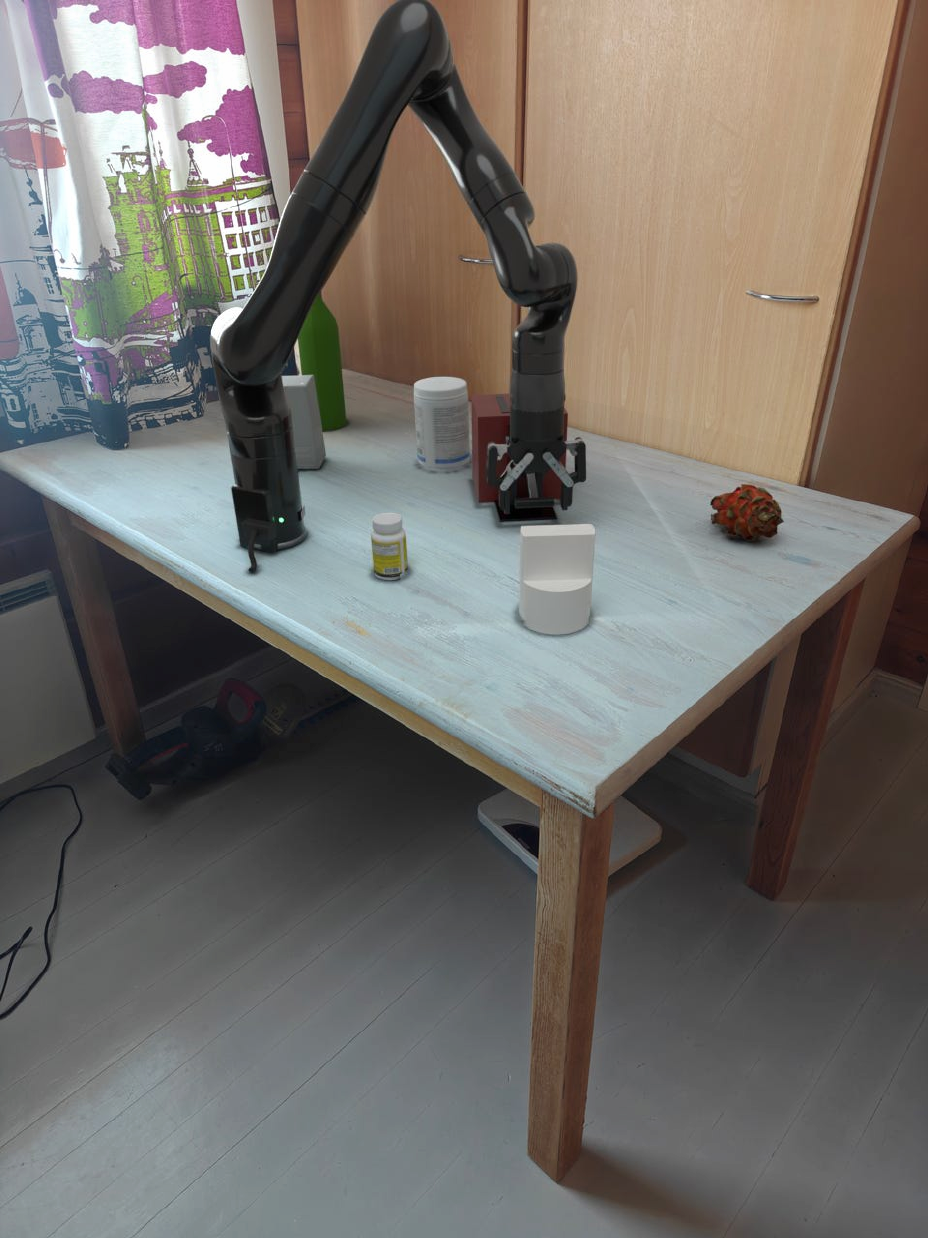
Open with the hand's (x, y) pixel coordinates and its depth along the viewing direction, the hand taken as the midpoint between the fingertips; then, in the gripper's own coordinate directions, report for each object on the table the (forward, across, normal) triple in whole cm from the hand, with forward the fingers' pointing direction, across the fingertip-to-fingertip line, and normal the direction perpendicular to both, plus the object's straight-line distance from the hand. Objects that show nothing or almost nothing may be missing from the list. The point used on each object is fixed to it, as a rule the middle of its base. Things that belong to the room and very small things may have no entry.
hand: (535, 510), depth 129 cm
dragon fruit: (+5, -31, +2) cm, 31 cm away
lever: (-3, 0, -6) cm, 7 cm away
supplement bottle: (+5, +22, +9) cm, 24 cm away
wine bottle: (+5, +34, -60) cm, 70 cm away
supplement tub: (+5, +12, -34) cm, 36 cm away
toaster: (+5, 0, -19) cm, 20 cm away
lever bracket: (+5, 0, -10) cm, 11 cm away
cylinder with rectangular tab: (+5, +1, +23) cm, 24 cm away
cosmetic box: (+5, +38, -37) cm, 53 cm away
